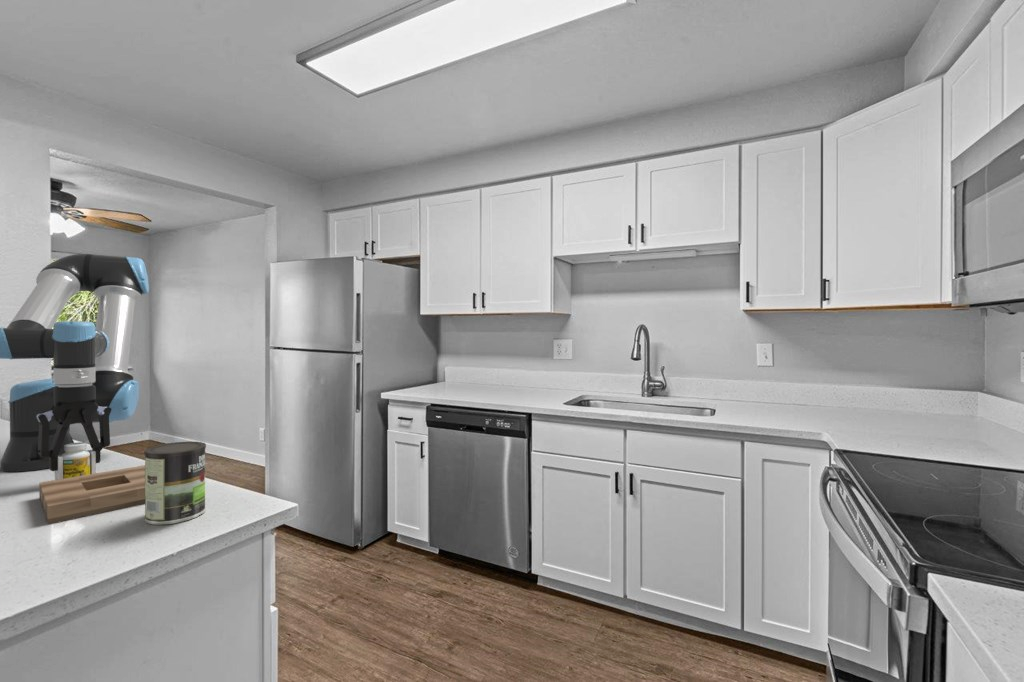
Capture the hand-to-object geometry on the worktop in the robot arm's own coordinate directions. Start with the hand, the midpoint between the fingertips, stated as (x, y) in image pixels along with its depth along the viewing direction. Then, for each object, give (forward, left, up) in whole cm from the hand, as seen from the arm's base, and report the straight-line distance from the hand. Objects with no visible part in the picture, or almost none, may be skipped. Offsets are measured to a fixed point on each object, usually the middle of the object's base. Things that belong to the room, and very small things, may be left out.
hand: (75, 479), depth 115 cm
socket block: (+6, +17, -1) cm, 18 cm away
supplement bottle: (0, 0, -1) cm, 1 cm away
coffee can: (+10, +40, -1) cm, 41 cm away
